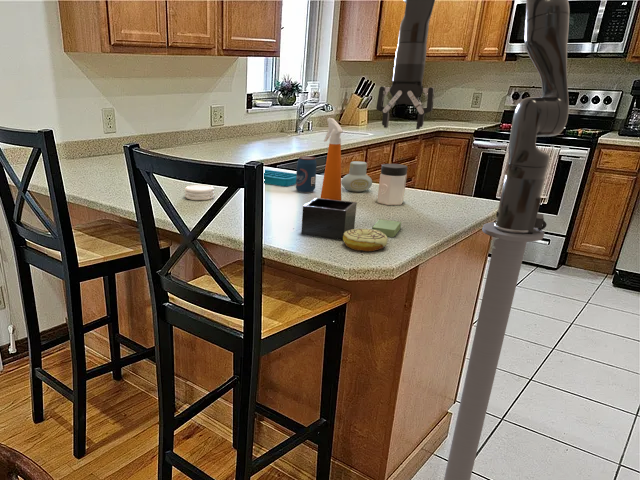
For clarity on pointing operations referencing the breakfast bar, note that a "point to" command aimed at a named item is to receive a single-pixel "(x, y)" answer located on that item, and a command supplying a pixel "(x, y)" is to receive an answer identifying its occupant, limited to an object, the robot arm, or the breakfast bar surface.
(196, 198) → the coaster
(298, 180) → the soda can
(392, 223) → the sponge
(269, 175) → the ice cube tray
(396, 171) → the jar
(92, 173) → the breakfast bar surface
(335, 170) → the spray bottle
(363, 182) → the air freshener
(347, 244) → the decorated donut
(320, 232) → the black open box
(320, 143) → the breakfast bar surface
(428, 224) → the breakfast bar surface
